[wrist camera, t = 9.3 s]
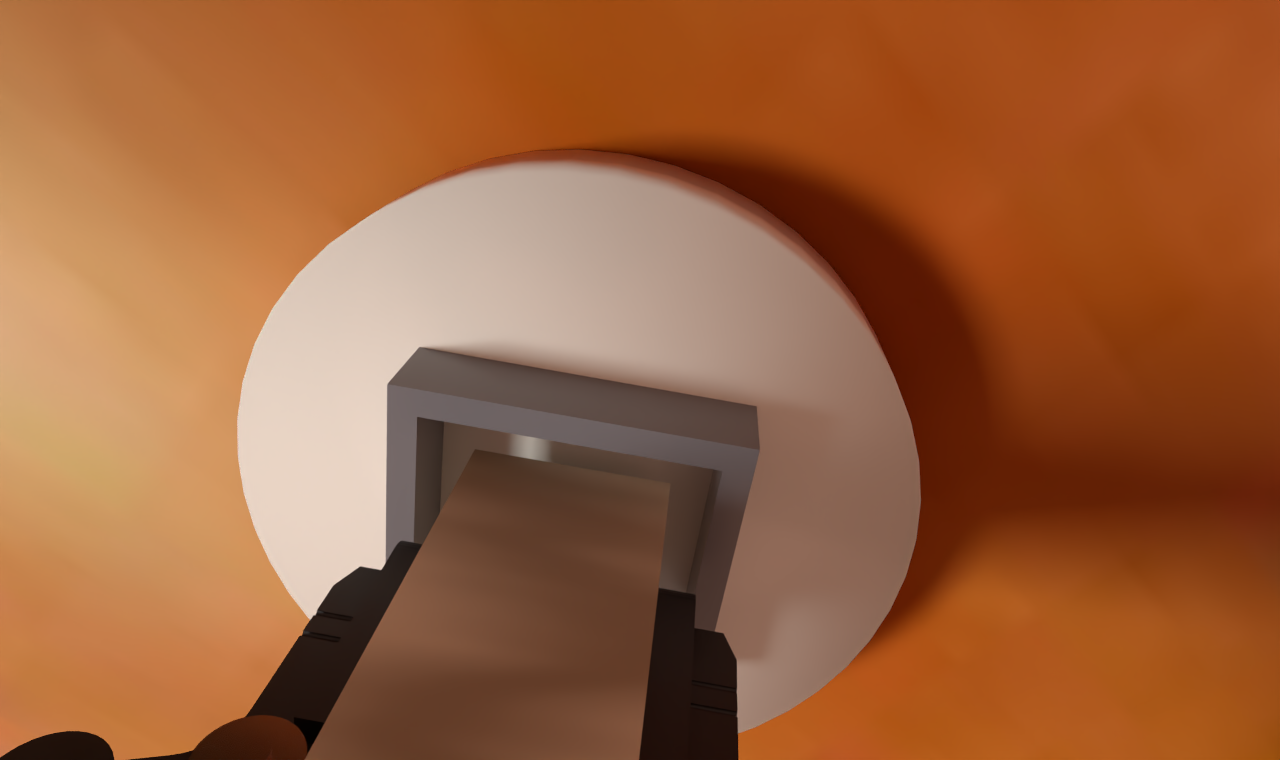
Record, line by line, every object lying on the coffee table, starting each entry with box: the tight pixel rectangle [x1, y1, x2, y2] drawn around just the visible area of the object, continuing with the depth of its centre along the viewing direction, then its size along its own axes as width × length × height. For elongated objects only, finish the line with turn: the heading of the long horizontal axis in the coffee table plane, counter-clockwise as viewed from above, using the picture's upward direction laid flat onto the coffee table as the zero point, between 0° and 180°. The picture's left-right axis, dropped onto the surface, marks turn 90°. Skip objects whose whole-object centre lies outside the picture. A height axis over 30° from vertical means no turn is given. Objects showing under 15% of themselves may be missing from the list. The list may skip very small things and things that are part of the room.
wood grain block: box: [305, 449, 670, 760], centre depth 11 cm, size 3×3×9 cm
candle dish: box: [237, 149, 921, 733], centre depth 16 cm, size 13×13×4 cm
